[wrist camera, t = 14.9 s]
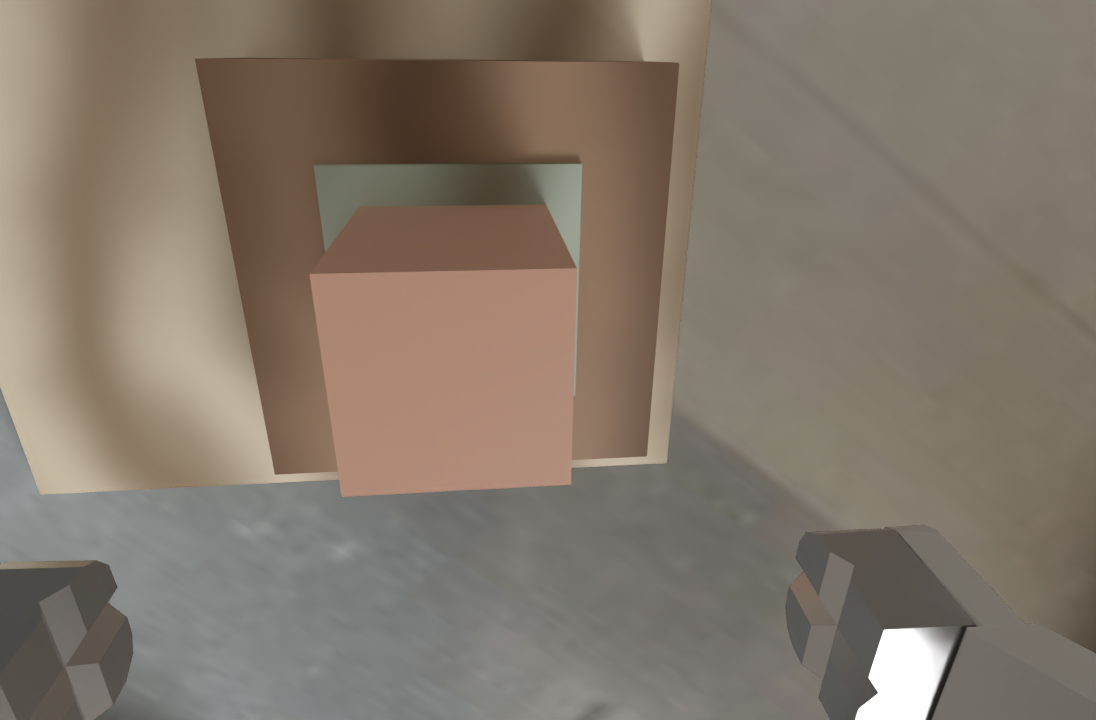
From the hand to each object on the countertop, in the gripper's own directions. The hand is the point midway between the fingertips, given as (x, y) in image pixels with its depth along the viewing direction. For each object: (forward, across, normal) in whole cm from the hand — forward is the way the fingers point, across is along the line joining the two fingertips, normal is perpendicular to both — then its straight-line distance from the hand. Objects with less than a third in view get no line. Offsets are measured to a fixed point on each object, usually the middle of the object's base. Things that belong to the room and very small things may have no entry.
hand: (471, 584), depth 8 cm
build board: (+18, +5, 0) cm, 18 cm away
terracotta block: (+12, +1, 0) cm, 12 cm away
